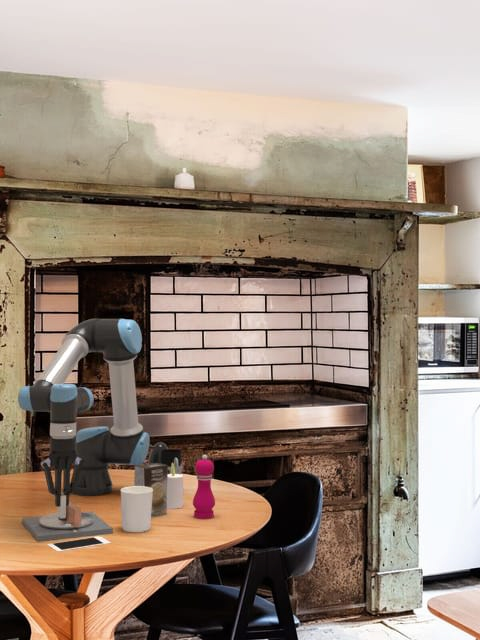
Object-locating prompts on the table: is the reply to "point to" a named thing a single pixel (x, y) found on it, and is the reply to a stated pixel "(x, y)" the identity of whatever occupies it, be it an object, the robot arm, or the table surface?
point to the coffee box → (154, 484)
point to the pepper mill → (204, 489)
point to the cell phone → (78, 543)
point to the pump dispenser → (156, 452)
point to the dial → (67, 519)
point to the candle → (174, 490)
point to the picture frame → (172, 459)
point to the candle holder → (136, 508)
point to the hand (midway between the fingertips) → (61, 517)
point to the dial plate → (53, 534)
